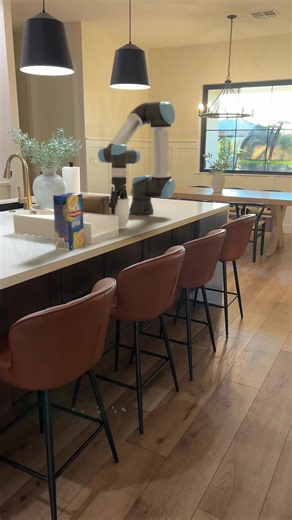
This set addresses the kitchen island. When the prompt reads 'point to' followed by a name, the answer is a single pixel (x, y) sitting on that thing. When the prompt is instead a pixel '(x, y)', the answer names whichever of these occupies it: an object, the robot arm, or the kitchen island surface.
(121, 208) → the jar
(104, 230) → the white open tray
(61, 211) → the blue cardboard box
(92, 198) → the walnut block
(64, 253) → the kitchen island surface
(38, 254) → the kitchen island surface
